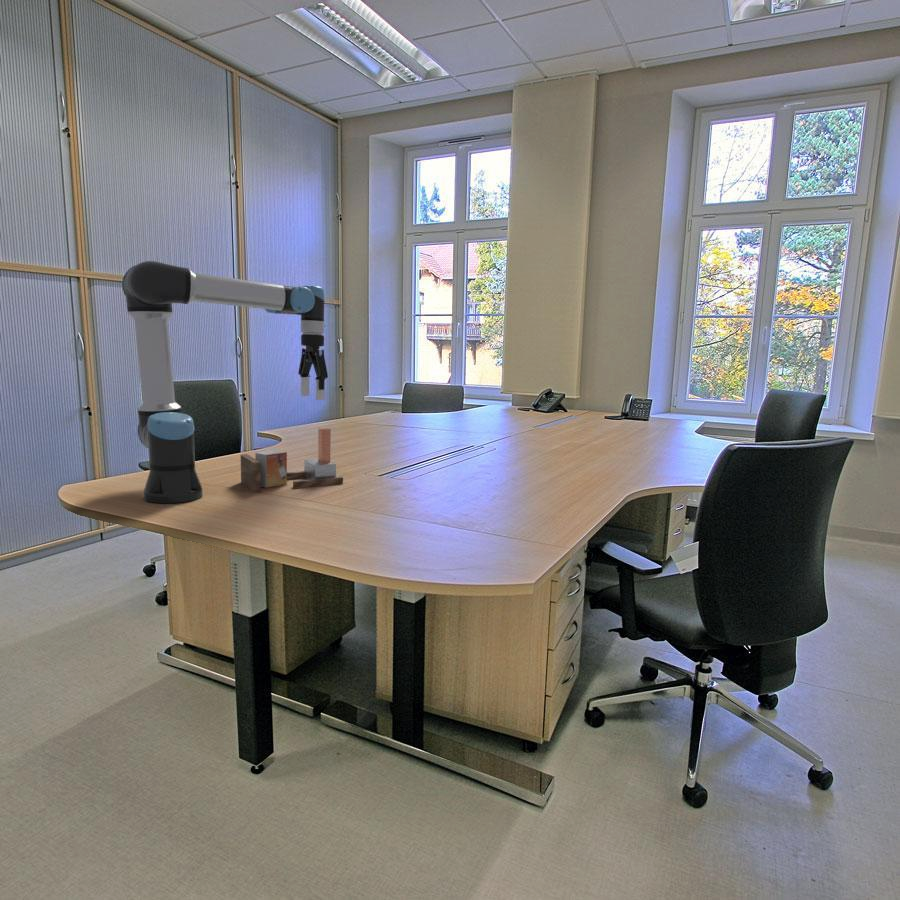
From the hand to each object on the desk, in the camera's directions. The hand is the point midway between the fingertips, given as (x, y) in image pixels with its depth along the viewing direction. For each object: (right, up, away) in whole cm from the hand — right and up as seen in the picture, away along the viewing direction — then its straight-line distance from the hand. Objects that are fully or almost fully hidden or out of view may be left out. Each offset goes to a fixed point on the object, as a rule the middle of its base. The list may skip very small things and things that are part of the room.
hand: (312, 397), depth 203 cm
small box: (-10, -29, -14) cm, 34 cm away
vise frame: (-4, -28, -10) cm, 30 cm away
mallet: (+4, -28, -5) cm, 28 cm away
